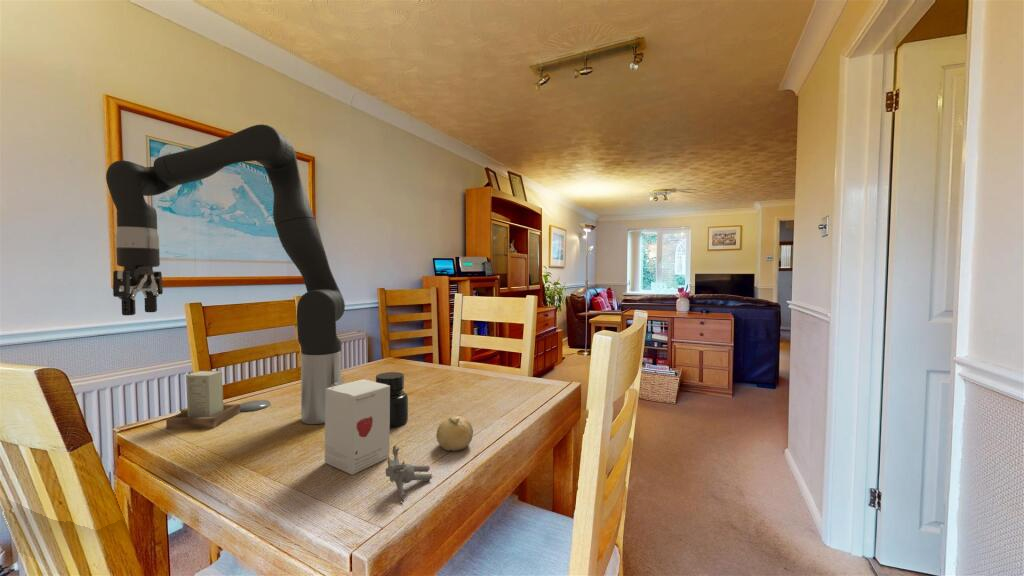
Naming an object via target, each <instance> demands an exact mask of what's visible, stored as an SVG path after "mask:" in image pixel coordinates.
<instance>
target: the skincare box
mask: <svg viewBox="0 0 1024 576" xmlns="http://www.w3.org/2000/svg"><path fill="white" fill-rule="evenodd" d="M185 381H186V382H185V384H186V406H187V411H188V417H213V416H215V415H216V414H218V413H220V412H222V411H223V404H224V393H223V390H224V389H223V386H224V385H223V372H222V370H216V371H215V370H200V371H195V372H193V373H188V374H186V375H185Z"/></svg>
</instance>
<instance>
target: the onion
mask: <svg viewBox="0 0 1024 576" xmlns="http://www.w3.org/2000/svg"><path fill="white" fill-rule="evenodd" d="M436 429H437V430H436V432H435V433H436V435H435V436H436V442H437V443H438V445H439V446H440V447H441V448H442V449H444V450H445V451H450V450H452V451H459V450H463V449H465V448H466V447H468V446H469V445H470V443H471V442H472V439H473V437H474V435H473V434H474V429H473V426H472V423H471V422H470V421H469V420H468V419H466V418H464V417H463V416H460V415H456V416H449V417H447V418H446V419H444V420H442V421H441V423H440V424H439V426H438V427H437V428H436Z"/></svg>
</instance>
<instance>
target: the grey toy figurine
mask: <svg viewBox="0 0 1024 576" xmlns="http://www.w3.org/2000/svg"><path fill="white" fill-rule="evenodd" d="M399 450H400V447H397V445H393V446H392V455H393V457H394V458H393V459H391V457H388V458H387V467H386V468H385V476H386V477H389V480H390V482H391V483H393V482H394V483H395V486H396V489H397V491H398V498H399V499H398V500H399V501H400V500H401V501H402V502H403V503H404V502H405V498H404V497H405V495H407V493H404V485H403V484H409V483H411V482H412V481H425V480H429V481H431V480H432V479H433V475H434V474H432V473H427V472H429V471H430V470H431V466H430V465H429V464H428V465H427V464H426V465H414V464H413V465H412V464H410V463H405V460H403V461H402V462H401V463H400V460H399V456H398V453H399ZM415 472H417V473H415ZM418 472H419V473H418ZM420 472H421V473H420ZM422 472H423V473H422ZM430 479H431V480H430Z"/></svg>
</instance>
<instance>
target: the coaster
mask: <svg viewBox="0 0 1024 576" xmlns="http://www.w3.org/2000/svg"><path fill="white" fill-rule="evenodd" d="M239 404H240V413H244V412H245V413H247V412H249V411H250V412H256V411H260V409H261V410H264V409H266V407H267V408H269V407H270V406H271V401H270V400H267V399H258V400H250V401H246V402H245V401H244V402H243V403H242V402H241V403H239ZM268 406H269V407H268ZM255 410H256V411H255Z"/></svg>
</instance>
